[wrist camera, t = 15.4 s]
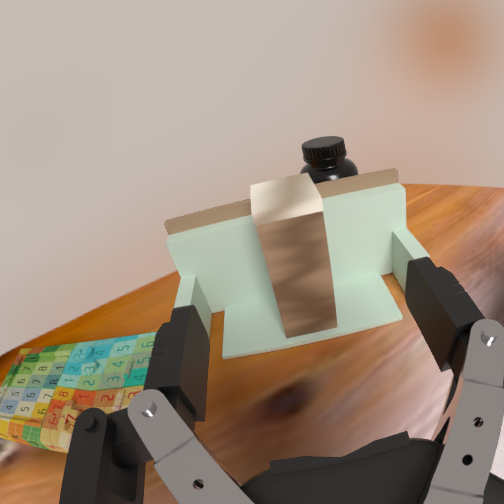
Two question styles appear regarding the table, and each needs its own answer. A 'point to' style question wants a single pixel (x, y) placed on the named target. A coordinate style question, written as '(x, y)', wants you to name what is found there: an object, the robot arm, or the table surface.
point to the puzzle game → (70, 387)
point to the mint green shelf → (257, 276)
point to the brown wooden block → (296, 252)
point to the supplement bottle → (327, 159)
